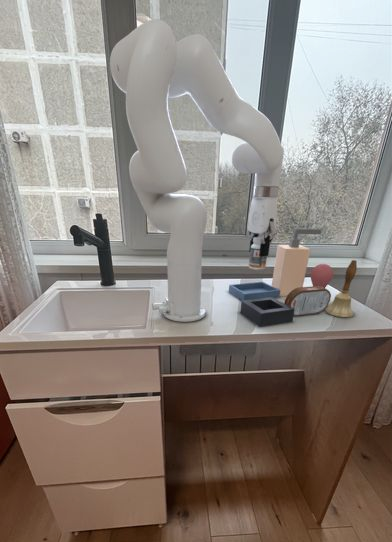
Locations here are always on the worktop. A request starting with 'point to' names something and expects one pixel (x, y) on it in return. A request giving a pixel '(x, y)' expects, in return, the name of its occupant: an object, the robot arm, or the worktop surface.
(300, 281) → the soap dispenser
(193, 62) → the robot arm
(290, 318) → the socket base
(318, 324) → the worktop surface
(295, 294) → the tin
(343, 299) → the hand bell
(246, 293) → the tray
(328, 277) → the light bulb
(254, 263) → the pill bottle
